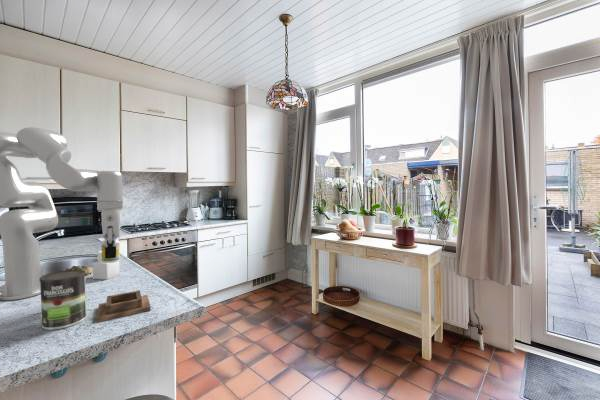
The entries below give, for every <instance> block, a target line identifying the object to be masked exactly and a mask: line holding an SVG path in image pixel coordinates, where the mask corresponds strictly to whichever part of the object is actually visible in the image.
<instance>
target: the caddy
mask: <svg viewBox="0 0 600 400" xmlns="http://www.w3.org/2000/svg"><path fill="white" fill-rule="evenodd" d="M151 309H152V307H151V303H150V300H149V296H148V294H145V295H144V294H143V295H142V294H141V290H134V291H130V292H124V293H123V292H122V293H118V294H117V293H116V294H112V295H107V296H106V302H103V303H98V309H97V313H96V323H100V322H104V321H108V320H112V319H118V318H123V317H127V316H132V315H136V314H141V313H144V312H146V313H147V312H150V311H151Z"/></svg>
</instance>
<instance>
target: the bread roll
mask: <svg viewBox="0 0 600 400" xmlns="http://www.w3.org/2000/svg"><path fill="white" fill-rule="evenodd" d="M66 270H84V271H85V272H86V273H85V275H87V276H89V275H88V274H90V273H92V274H93V268H91V267H90V266H85V265H72V266H71V267H67V268H66V269H65V270H64V271H66ZM90 275H91V274H90Z"/></svg>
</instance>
